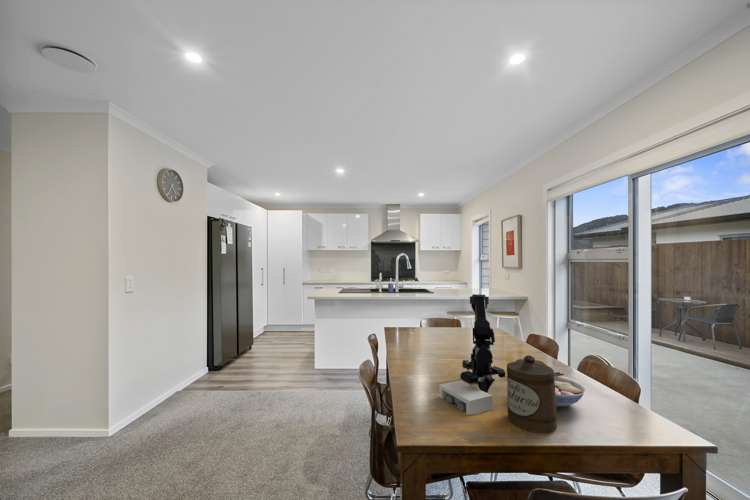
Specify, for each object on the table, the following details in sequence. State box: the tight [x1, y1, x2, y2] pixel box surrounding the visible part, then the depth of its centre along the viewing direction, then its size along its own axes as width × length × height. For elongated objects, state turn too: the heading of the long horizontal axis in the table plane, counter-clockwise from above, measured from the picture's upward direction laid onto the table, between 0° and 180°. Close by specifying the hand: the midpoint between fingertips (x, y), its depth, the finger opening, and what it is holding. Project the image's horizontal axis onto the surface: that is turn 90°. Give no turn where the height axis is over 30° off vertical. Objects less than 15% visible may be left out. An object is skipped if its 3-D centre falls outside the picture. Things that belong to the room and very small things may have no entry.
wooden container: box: [506, 354, 558, 434], centre depth 105 cm, size 15×15×22 cm
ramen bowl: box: [554, 371, 587, 408], centre depth 120 cm, size 25×23×8 cm
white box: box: [438, 379, 494, 416], centre depth 119 cm, size 11×17×5 cm, turn 25°
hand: (483, 396), depth 124 cm, fingers closed
